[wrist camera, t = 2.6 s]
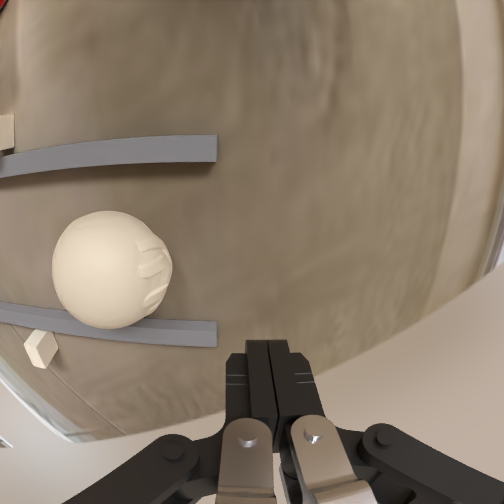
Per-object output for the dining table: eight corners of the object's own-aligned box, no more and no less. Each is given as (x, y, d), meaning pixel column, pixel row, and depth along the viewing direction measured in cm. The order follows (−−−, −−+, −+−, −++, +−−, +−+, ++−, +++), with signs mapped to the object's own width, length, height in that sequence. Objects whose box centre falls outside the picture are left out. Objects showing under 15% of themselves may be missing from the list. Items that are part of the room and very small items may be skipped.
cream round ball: (183, 293, 21) (166, 358, 15) (91, 287, 20) (51, 343, 14) (179, 197, 18) (151, 236, 12) (77, 199, 17) (20, 235, 11)
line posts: (14, 114, 14) (-12, 116, 12) (58, 347, 22) (45, 368, 20) (1, 118, 14) (-25, 121, 11) (46, 345, 22) (33, 365, 20)
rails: (217, 134, 17) (216, 135, 15) (217, 336, 22) (216, 347, 21) (-44, 168, 15) (-53, 171, 14) (-11, 311, 21) (-17, 317, 20)
